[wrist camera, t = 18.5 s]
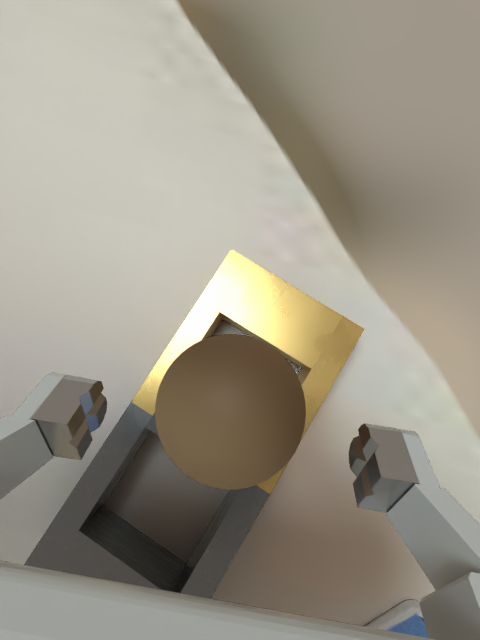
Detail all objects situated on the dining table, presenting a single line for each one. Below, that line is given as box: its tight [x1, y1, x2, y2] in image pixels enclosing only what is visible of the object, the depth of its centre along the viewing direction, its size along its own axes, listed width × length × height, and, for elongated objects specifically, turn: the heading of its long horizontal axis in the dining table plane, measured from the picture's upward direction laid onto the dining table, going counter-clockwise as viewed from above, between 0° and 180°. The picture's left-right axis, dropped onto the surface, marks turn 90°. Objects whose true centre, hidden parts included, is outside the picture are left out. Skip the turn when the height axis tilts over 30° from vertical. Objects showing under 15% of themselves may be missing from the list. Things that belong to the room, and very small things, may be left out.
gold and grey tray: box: [24, 249, 364, 599], centre depth 19 cm, size 22×10×3 cm, turn 148°
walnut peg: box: [155, 334, 306, 490], centre depth 15 cm, size 4×4×12 cm
